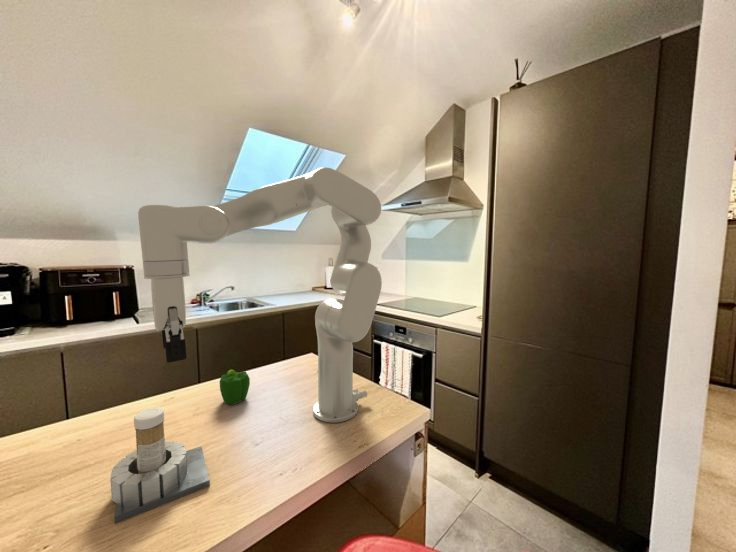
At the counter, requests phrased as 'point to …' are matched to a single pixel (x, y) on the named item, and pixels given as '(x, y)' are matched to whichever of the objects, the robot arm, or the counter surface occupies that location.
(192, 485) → the collar block
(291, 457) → the counter surface
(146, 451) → the sprinkles bottle
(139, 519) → the counter surface
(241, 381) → the bell pepper
